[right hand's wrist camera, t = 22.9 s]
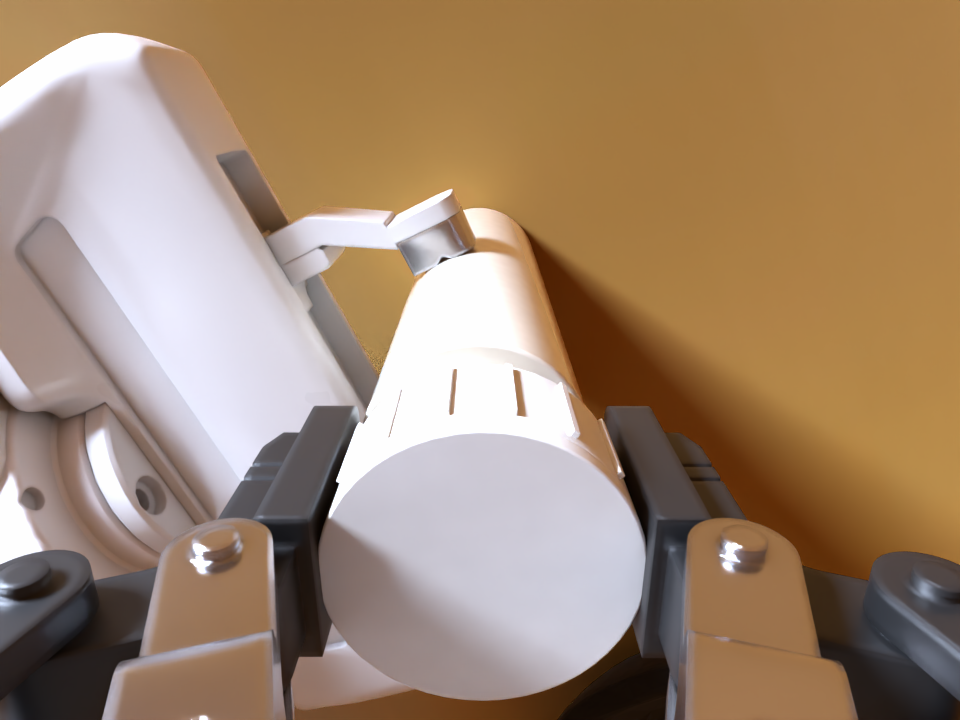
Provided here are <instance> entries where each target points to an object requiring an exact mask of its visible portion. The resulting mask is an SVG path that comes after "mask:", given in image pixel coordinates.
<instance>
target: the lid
mask: <svg viewBox="0 0 960 720" xmlns="http://www.w3.org/2000/svg"><path fill="white" fill-rule="evenodd" d="M624 477H625V474H624V471H623V469H622V466H621V464H620V461H619V458H618V456H617V453H616V451H615V448H614V445H613V443H612V440H611V438H610V435H609V432H608V430H607V427H606V425H605V422H604V421H603V419H602V418H601V419H599V420H597V419H596V418H595V416H594V415H593V413H592V412H591V411H590V410H589V409H588V408H587V407H586V406H585V405H584V404H583V403H582V402H581V401H580V400H579V399H578V398H576V397H575V396H574V395H573V394H571V393H570V392H569V391H568V390H567V387H566V385H565V384H563V383H561V382H560V384H559V385H558V384H556V383H554V382H553V381H551V380H549V379H546V378H544V377H542V376H539V375H537V374H535V373H532V372H528V371H525V370H521V369H518V368H513V366H512V364H505V366H501V365H485V364H476V365H464V366H457V367H453V364H452V365H447V366H446V369H442V370H439V371H436V372H433V373H430V374H427V375H424V376H422V377H420V378H418V379H416V380H414V381H412V382H410V383H408V384H406V385H405V386H403V387H400V386H399V385H398V386H396V387H395V388H394V389H393V391H392V394H391V395H390V396H389V397H388V398H387V399H385V400H384V401H383V402H382V403H381V404H380V405H379V406H378V407H377V408H376V409H375V410H374V412H373V413H372V414H371V415H370V416H369V417H368V419H367V420H366V422H365V423H364V425H363V424H362V423H359V424H358V426H357V427H356V430H355V432H354V435H353V438H352V440H351V443H350V446H349V448H348V451H347V454H346V456H345V459H344V462H343V465H342V467H341V470H340V473H339V475H338V478H337V482H338V483H339V485H338V488H337V490H336V493H335V496H334V498H333V501H332V504H331V507H330V509H329V513H328V515H327V518H326V520H325V523H324V526H323V530H322V533H321V537H320V540H319V545H318V555H319V567H320V576H321V586H322V594H323V602H324V605H325V608H326V610H327V613H328V615H329V617H330V619H331V620H332V622H333V624H334V626H335V628H336V629H337V631H338V632H339V633H340V635H341V636H342V637H343V639H344V640H345V641H346V643H347V644H348V645H349V646H350V647H351V648H352V649H353V650H354V651H355V652H356V653H357V654H358V655H359V656H360V657H361V658H362V659H364V660H365V661H366V662H367V663H369V664H370V665H371V666H372V667H374V668H375V669H377V670H378V671H380V672H381V673H383V674H385V675H386V676H388V677H390V678H391V679H393V680H395V681H398V682H400V683H402V684H404V685H406V686H408V687H411V688H414V689H417V690H420V691H422V692H425V693H429V694H433V695H437V696H442V697H446V698H453V699H461V700H476V701H490V700H505V699H511V698H517V697H523V696H527V695H531V694H535V693H539V692H542V691H545V690H548V689H550V688H553V687H556V686H558V685H561V684H563V683H565V682H567V681H569V680H571V679H573V678H575V677H577V676H579V675H580V674H582V673H583V672H585V671H586V670H588V669H589V668H591V667H592V666H594V665H595V664H596V663H597V662H598V661H600V660H601V659H602V658H603V657H604V656H606V655H607V654H608V653H609V652H610V651H611V650H612V649H613V647H614V646H615V645H616V644H617V643H618V642H619V641H620V640H621V638H622V637H623V636H624V634H625V633H626V631H627V630H628V628H629V627H630V626H631V624H632V622H633V620H634V618H635V616H636V614H637V612H638V610H639V607H640V604H641V597H642V588H643V579H644V569H645V560H646V541H645V536H644V533H643V530H642V527H641V524H640V521H639V518H638V515H637V513H636V510H635V508H634V505H633V502H632V500H631V497H630V494H629V492H628V489H627V486H626V484H625V481H624Z"/></svg>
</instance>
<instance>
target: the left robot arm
mask: <svg viewBox="0 0 960 720" xmlns="http://www.w3.org/2000/svg"><path fill="white" fill-rule="evenodd" d="M460 205H461V204H460V202H459V200H458V198H457V196H456V194H455V192H454V190H453V189H451V190H448V191H445V192H442V193H440V194H438V195H436V196H434V197H432V198H430V199H428V200H426V201H424V202H422V203H420V204H418V205H416V206H414V207H412V208H410V209H408V210H406V211H404V212H402V213H400V214H398V215H396V216H395V214H394V213H393V212H392V211H380V210H368V209H356V208H344V207H332V206H322V207H320V208H318V209H316V210H314V211H312V212H310V213H308V214H306V215H304V216H302V217H300V218H298V219H296V220H294V221H292V222H291V221H290V219H289V218H288V216H287V214H286V212H285V211H284V209H283V207H282V205H281V204H280V202H279V200H278V198H277V197H276V195H275V193H274V191H273V190H272V188H271V186H270V184H269V183H268V181H267V179H266V178H265V176H264V174H263V172H262V171H261V169H260V167H259V165H258V164H257V162H256V160H255V158H254V157H253V155H252V153H251V151H250V150H249V148H248V146H247V144H246V143H245V141H244V139H243V137H242V136H241V134H240V132H239V130H238V129H237V127H236V125H235V124H234V122H233V120H232V118H231V117H230V115H229V113H228V111H227V110H226V108H225V106H224V104H223V103H222V101H221V99H220V97H219V96H218V94H217V92H216V90H215V89H214V87H213V85H212V83H211V82H210V80H209V78H208V76H207V74H206V73H205V71H204V69H203V68H202V66H201V65H200V63H199V62H198V61H197V60H196V59H195V57H193V56H192V55H190V54H189V53H187V52H185V51H183V50H180V49H177V48H174V47H171V46H168V45H165V44H162V43H159V42H157V41H153V40H149V39H146V38H142V37H138V36H132V35H126V34H118V33H100V34H94V35H89V36H85V37H82V38H80V39H77V40H74V41H72V42H71V43H69V44H67V45H65V46H64V47H62V48H60V49H58V50H56V51H55V52H53V53H51V54H50V55H48V56H46V57H45V58H43V59H42V60H40V61H39V62H37V63H35V64H34V65H32V66H31V67H29V68H28V69H26V70H25V71H23V72H22V73H20V74H19V75H18V76H16V77H15V78H13V79H12V80H10V81H9V82H7V83H6V84H5V85H3V86H2V87H1V88H0V564H2V563H5V562H7V561H9V560H12V559H14V558H17V557H20V556H23V555H27V554H31V553H35V552H41V551H47V550H69V551H74V552H77V553H80V554H82V555H84V556H85V557H86V558H87V559H88V560H89V563H90V565H91V569H92V573H93V577H94V580H98V579H103V578H108V577H113V576H118V575H123V574H128V573H133V572H137V571H142V570H146V569H150V568H154V567H157V566H158V564H159V559H160V556H161V553H162V552H163V550H164V548H165V547H166V546H167V545H168V544H169V543H170V542H171V541H172V540H173V539H174V538H175V537H177V536H178V535H180V534H181V533H183V532H184V531H186V530H188V529H190V528H192V527H195V526H197V525H200V524H203V523H206V522H209V521H214V520H217V519H218V518H219V516H220V514H221V513H222V511H223V510H224V508H225V506H226V505H227V503H228V502H229V500H230V498H231V497H232V495H233V494H234V492H235V490H236V489H237V487H238V486H239V484H240V482H241V481H244V476H245V474H246V473H247V471H248V470H249V468H250V467H252V465H253V464H252V463H253V462H254V460H255V458H256V457H257V455H258V454H259V452H260V450H261V449H262V447H263V446H264V445H266V444H267V443H269V442H270V441H272V440H273V439H275V438H276V437H278V436H279V435H281V434H282V433H283V432H300V430H301V429H302V427H303V425H304V423H305V421H306V419H307V418H308V416H309V414H310V412H311V410H312V408H313V407H314V406H357V408H358V411H359V418H360V423H362V424H363V422H364V418H365V415H366V412H367V409H368V406H369V404H370V401H371V398H372V395H373V393H374V390H375V387H376V384H377V382H378V379H379V375H378V373H377V371H376V369H375V368H374V366H373V364H372V362H371V361H370V359H369V357H368V355H367V354H366V352H365V350H364V348H363V347H362V345H361V343H360V341H359V340H358V338H357V336H356V334H355V333H354V331H353V329H352V327H351V326H350V324H349V322H348V320H347V319H346V317H345V315H344V313H343V312H342V310H341V308H340V307H339V305H338V303H337V301H336V300H335V298H334V296H333V294H332V293H331V291H330V289H329V287H328V286H327V284H326V282H325V280H324V279H323V277H322V275H321V273H320V272H322V271H324V270H326V269H328V268H329V267H330V266H331V265H332V264H333V263H334V262H335V261H336V260H337V259H338V258H339V257H340V255H341V254H342V253H343V252H344V250H345V247H361V248H378V249H396V250H398V249H400V251H401V253H402V255H403V257H404V258H405V260H406V262H407V264H408V266H409V268H410V269H411V271H412V273H413V275H414V276H416V275H418V274H421V273H423V272H425V271H427V270H429V269H431V268H433V267H436V266H437V265H438V263H439V261H440V259H441V257H447V258H454V257H456V256H458V255H461V254H463V253H464V252H466V251H468V250H470V249H471V248H472V247H473V246H475V243H476V242H475V240H476V237H475V235H474V233H473V231H472V228H471V226H470V224H469V222H468V220H467V218H466V215H465V213H464V211H463V209H462V207H461V206H460ZM291 681H292V688H293V696H294V706H295V707H296V708H298V709H300V710H313V709H318V708H321V707H327V706H338V705H346V704H352V703H357V702H362V701H367V700H372V699H377V698H381V697H386V696H390V695H395V694H399V693H403V692H407V691H411V690H415V689H414V688H411V687H408V686H406V685H404V684H402V683H400V682H398V681H395V680H393V679H391V678H390V677H388V676H386V675H385V674H383V673H381V672H380V671H378V670H377V669H375V668H374V667H372V666H371V665H370V664H369V663H367V662H366V661H365V660H364V659H362V658H361V657H360V656H359V655H358V654H357V653H356V652H355V651H354V650H353V649H352V648H351V647H350V646H349V645H348V644H347V643H346V641H345V640H344V639H343V637H342V636H341V635H340V633H339V632H338V631H337V629H336V628H335V626H334V624H333V622H332V625H331V629H330V632H329V636H328V639H327V643H326V647H325V650H324V654H323V657H299V658H298V662H297V665H296V668H295V671H294V674H293V677H292V679H291Z"/></svg>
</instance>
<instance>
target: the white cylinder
mask: <svg viewBox="0 0 960 720" xmlns="http://www.w3.org/2000/svg"><path fill="white" fill-rule="evenodd" d="M463 211H464V213H465V215H466V218H467V220H468V222H469V224H470V226H471V228H472V231H473V233H474V235H475V237H476V240H475V242H476V243H475V246H473V247H472V248H471V249H470V250H468V251H466V252H464V253H463V254H461V255H458V256H456V257H454V258H447V257H441V259H440V261H439V263H438V265H437V266H436V267H433V268H431V269H429V270H427V271H425V272H423V273H421V274H418V275H416V277H415V280H414V283H413V285H412V288H411V291H410V294H409V296H408V299H407V302H406V305H405V307H404V310H403V313H402V316H401V318H400V321H399V324H398V327H397V329H396V332H395V335H394V338H393V340H392V343H391V346H390V349H389V351H388V354H387V357H386V360H385V362H384V365H383V368H382V371H381V373H380V376H379V379H378V382H377V384H376V387H375V390H374V393H373V395H372V398H371V401H370V404H369V406H368V409H367V412H366V415H365V418H364V422H363V425H364V423H365V422H366V420H367V419H368V417H369V416H370V415H371V414H372V413H373V412H374V410H375V409H376V408H377V407H378V406H379V405H380V404H381V403H382V402H383V401H384V400H385V399H387V398H388V397H389V396H390V395H391V394H392V391H393V389H394V388H395V387H396V386H398V385H399V386H400V387H403V386H405V385H406V384H408V383H410V382H412V381H414V380H416V379H418V378H420V377H422V376H424V375H427V374H430V373H433V372H436V371H439V370H442V369H446V366H447V365H452V364H453V367H457V366H464V365H476V364H485V365H501V366H505V364H512V366H513V368H518V369H521V370H525V371H528V372H532V373H535V374H537V375H539V376H542V377H544V378H546V379H549V380H551V381H553V382H554V383H556V384H558V385H559V384H560V382H561V383H563V384H565V385H566V387H567V390H568V391H569V392H570V393H571V394H573V395H574V396H575V397H576V398H578V399H579V400H580V401H581V402H582V403H583V404H584V401H583V398H582V395H581V392H580V389H579V387H578V384H577V381H576V378H575V375H574V372H573V369H572V366H571V363H570V360H569V357H568V354H567V351H566V348H565V345H564V342H563V339H562V336H561V333H560V330H559V327H558V324H557V321H556V318H555V315H554V312H553V309H552V306H551V303H550V300H549V297H548V294H547V291H546V288H545V285H544V282H543V279H542V276H541V273H540V270H539V267H538V264H537V261H536V258H535V255H534V252H533V249H532V246H531V243H530V241H529V239H528V237H527V235H526V234H525V232H524V230H523V229H522V228H521V227H520V226H519V225H518V224H517V223H516V222H515V221H514V220H513V219H511V218H510V217H508V216H507V215H505V214H503V213H501V212H498V211H495V210H491V209H486V208H472V209H467V210H463ZM584 405H585V404H584Z"/></svg>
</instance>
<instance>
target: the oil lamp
mask: <svg viewBox="0 0 960 720" xmlns="http://www.w3.org/2000/svg"><path fill="white" fill-rule="evenodd" d="M669 673H670V669H669V666H668V663H667V660H666V658H642V656H641V653H639V654H636V655H634V656H632V657H629V658H627V659H626V660H624V661H622V662H621V663H619V664H617V665H616V666H614V667H613V668H611V669H610V670H608V671H607V672H606V673H604V674H603V675H602V676H600V677H599V678H597V679H596V680H595V681H594V682H593V683H592V684H591V685H589V686H588V687H587V688H586V689H585V690H584V691H583V692H582V693H581V694H580V695H579V696H578V697H577V698H576V699H575V700H574V701H573V702H572V703H571V704H570V705H569V706H568V707H567V708H566V709H565V711H564V712H563V713H562V715H561V716H560V717H559V718H558V720H665V712H666V696H667V688H668V681H669Z"/></svg>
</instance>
